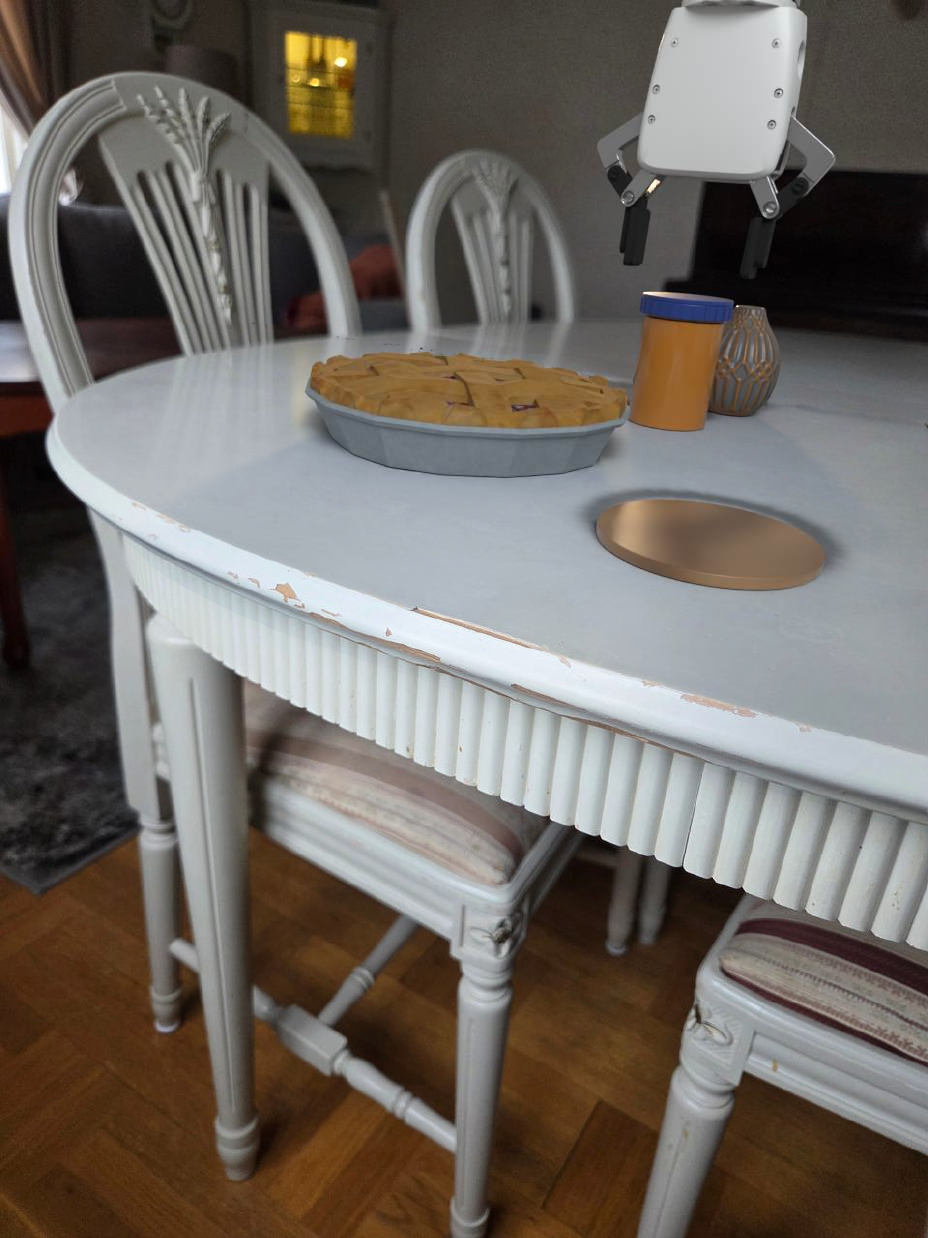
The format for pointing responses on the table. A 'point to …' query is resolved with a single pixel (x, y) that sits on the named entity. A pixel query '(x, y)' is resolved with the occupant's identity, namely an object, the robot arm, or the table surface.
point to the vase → (745, 364)
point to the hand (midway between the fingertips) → (688, 270)
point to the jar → (674, 373)
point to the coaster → (710, 544)
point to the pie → (466, 413)
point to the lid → (687, 306)
